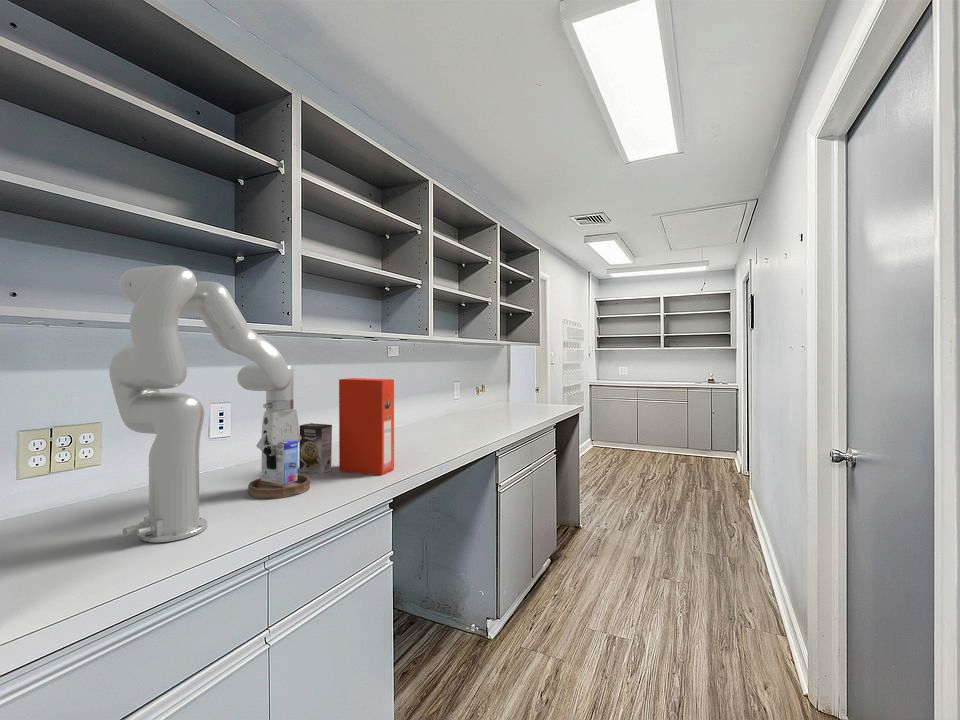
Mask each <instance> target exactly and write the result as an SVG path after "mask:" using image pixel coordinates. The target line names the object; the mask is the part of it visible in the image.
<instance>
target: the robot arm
mask: <svg viewBox="0 0 960 720" xmlns="http://www.w3.org/2000/svg"><path fill="white" fill-rule="evenodd" d="M118 287H119V290H120V292H121V293H122V295H123V297H124V298H125V299H126V300H127V301H129V302H131V303H132V304H134V305H133V308H132V310H131V312H130V316H129V330H130V336H131V341H132V346H129V347H125V348H122V349H121V350H119V351H118V352H116V354H114V355H113V357H112V359H111V361H110V364H109V372H108V373H109V379H110V383H111V386H112V387H111V388H112V391H113V394H114V398H115V401H116V402H115V403H116V406H117V409H118V412H119V415H120V418H121V420H122V422H123V423H124V425H125V426H126V427H127V428H128V429H129V430H131V431H133V432H136V433H140V434H152V435H155V439H154V440H153V443H152V444H151V446H150V450H149V453H148V515H145V516H143V520H142V521H140V522H139V523H138V524H136V525H134V524H133V525H129V526H126V527H123V528H122V535H123V536H124V537H125V538H127V537H130V536H133V535H136V536H137V537H138V536H139V537H140V540H141V541H144V542H147V543H156V544H157V543H168V542H175V541H179V540H184V539H187V538H190V537H193V536H195V535H198V534H201V533H202V532H204V530H205V529H207V528H208V520H206V519H205V518H203V517H200V441H201V434H202V429H203V425H204V420H205V408H204V406H203V403H202V402H201V401H200V400H199V399H198V398H197V397H195V396H193V395H191V394H187V393H183V392H168V391H167V392H161V391H160V390H168V389H173V388H177V387H179V386H181V385H182V384H183V383H184V382H185V380H186V379H187V375H188V367H187V362H186V359H185V358H186V357H185V354H184V353H185V352H184V349H183V346H182V341H181V337H180V331H179V317H180V316H182V317H200V319H201V320H202V321H203V323H204V324H205V327H206V328H207V329H208V330H209V333H211V335H212V337H213V338H214V339H215V341H216V342H217V344H218V345H219V346H220V347H221V348H223V349H225V350H228V351H229V352H231V353H234V354H237V355H240V356H242V357H245V358H247V359H248V360H251V361H252V362H254V363H252V364H247V365H245V366H243V367H241V368H240V370H239V371H238V374H237V376H236V377H237V379H236V381H237V383H238V385H240V387H241V388H242V389H245V390H246V391H252V392H265V399H266V400H265V403H263V406H262V407H263V408H264V409H265V411H264V412H263V417H262V423H261V437H260V439H259V440H258V441H257V443H256V448H257V449H259V450H260V451H261V453H262V452H263V453H264V454H265V455H266V465H267V469H273V470H274V469H276V456H274V453H275V449H276V446H279V444H280V443H281V442H285V441H290V440H296V441H298V443H299V441H300V440H301V439H302V437H301V436H300V424H299V416H298V412H297V410H296V409H295V407H294V406H295V405H294V401H295V400H294V393H295V392H294V390H295V389H294V386H295V385H294V384H295V383H294V380H295V378H294V374H295V373H294V371H295V370H294V367H293V366H292V365H291V364H287V362H286V360H285V359H284V357H283V355H282V354H281V352H280V351H279V350H278V348H276V347H275V346H274V345H273V344H271V343H270V342H269V341H268V340H266V339H265V338H264V337H263V336H261V335H260V334H258V332H255V331H254V330H253V329H251V327H250V326H249V324H248V322H247V321H246V319H245V317H244V316H243V314H242V313H241V311H240V308H239V306H238V305H237V304H236V302H235V301H234V299H233V297H232V295H231V293H230V292H229V290H228V288H226V287H225V286H224V285H223V284H221V283H219V282H216V281H197V277H196V276H195V274H194V272H193V271H192V270H190V269H189V268H188V267H185V266H180V265H173V264H171V265H170V264H167V265H156V266H155V265H154V266H144V267H143V266H142V267H134V268H131V269H128V270H127V271H125V272H124V273H123V274H122V275H121V277H120V279H119V285H118ZM264 445H266V447H265V446H264ZM270 448H271V450H270Z"/></svg>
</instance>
